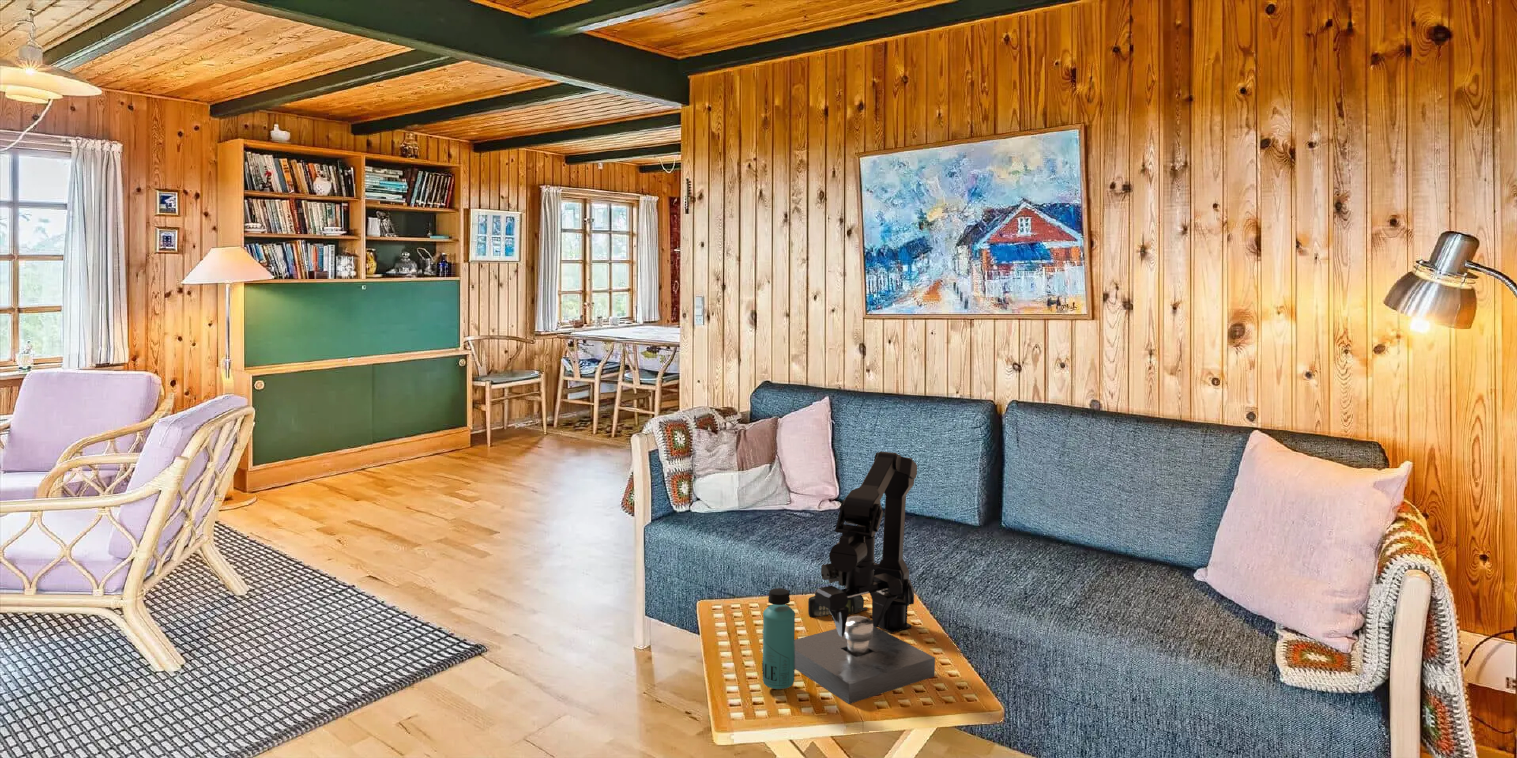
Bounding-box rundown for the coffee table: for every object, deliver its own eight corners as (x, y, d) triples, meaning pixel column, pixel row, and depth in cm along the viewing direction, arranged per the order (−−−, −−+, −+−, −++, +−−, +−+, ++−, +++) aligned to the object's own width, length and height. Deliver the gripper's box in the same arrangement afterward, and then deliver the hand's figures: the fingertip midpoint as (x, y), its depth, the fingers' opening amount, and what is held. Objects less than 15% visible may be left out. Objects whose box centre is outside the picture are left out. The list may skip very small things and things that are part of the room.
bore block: (864, 638, 196) (864, 621, 195) (934, 676, 177) (935, 657, 177) (782, 660, 184) (783, 642, 183) (849, 704, 165) (849, 684, 165)
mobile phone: (810, 599, 206) (870, 593, 210) (806, 595, 209) (865, 589, 213) (810, 619, 207) (870, 613, 210) (806, 615, 210) (865, 608, 213)
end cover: (859, 646, 184) (860, 613, 183) (878, 656, 179) (879, 622, 178) (837, 652, 181) (837, 619, 180) (855, 663, 176) (856, 628, 175)
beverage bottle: (799, 684, 173) (800, 586, 171) (789, 699, 167) (790, 598, 165) (767, 679, 175) (768, 582, 173) (756, 694, 169) (757, 593, 167)
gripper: (869, 540, 189) (867, 609, 191) (799, 554, 179) (798, 627, 181) (904, 554, 180) (902, 627, 182) (832, 569, 170) (831, 646, 172)
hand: (858, 631), depth 180 cm, fingers open, 9 cm apart
